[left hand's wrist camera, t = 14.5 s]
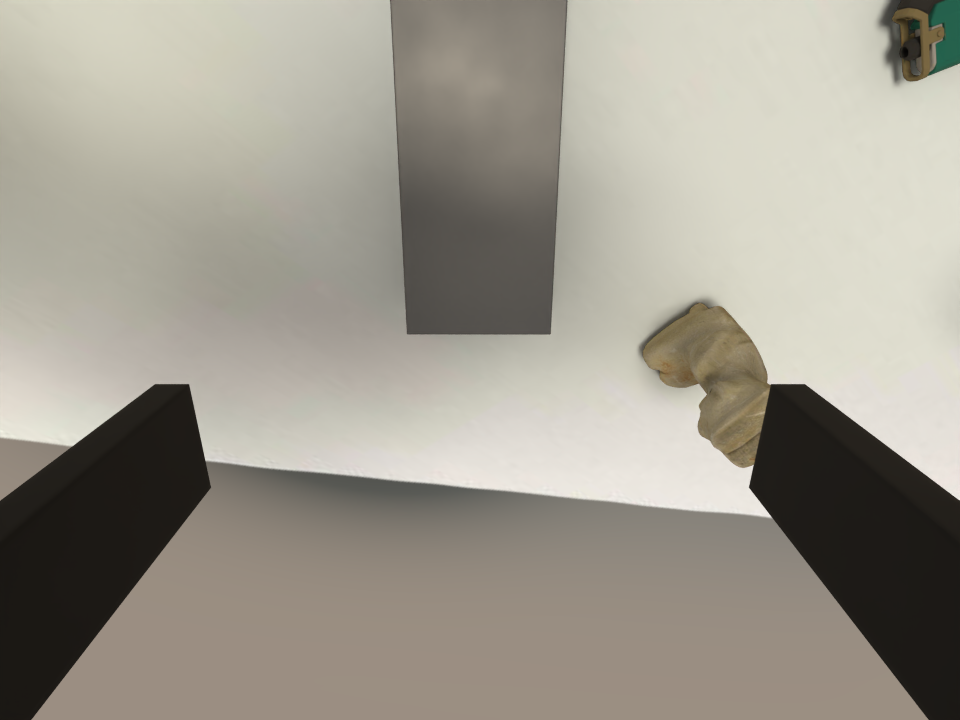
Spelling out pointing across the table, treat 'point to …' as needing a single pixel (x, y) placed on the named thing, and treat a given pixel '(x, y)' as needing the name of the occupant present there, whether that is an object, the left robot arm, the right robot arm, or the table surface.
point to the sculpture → (716, 377)
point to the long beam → (478, 161)
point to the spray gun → (929, 35)
